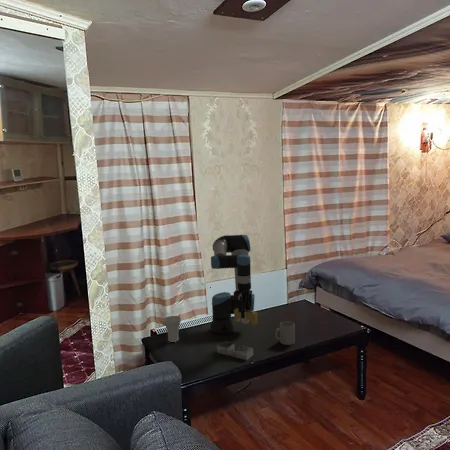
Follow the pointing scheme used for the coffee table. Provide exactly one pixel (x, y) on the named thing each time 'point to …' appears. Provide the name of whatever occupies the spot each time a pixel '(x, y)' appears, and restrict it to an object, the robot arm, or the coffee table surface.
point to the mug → (286, 333)
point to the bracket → (230, 350)
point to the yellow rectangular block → (249, 316)
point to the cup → (172, 327)
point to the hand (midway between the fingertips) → (245, 321)
